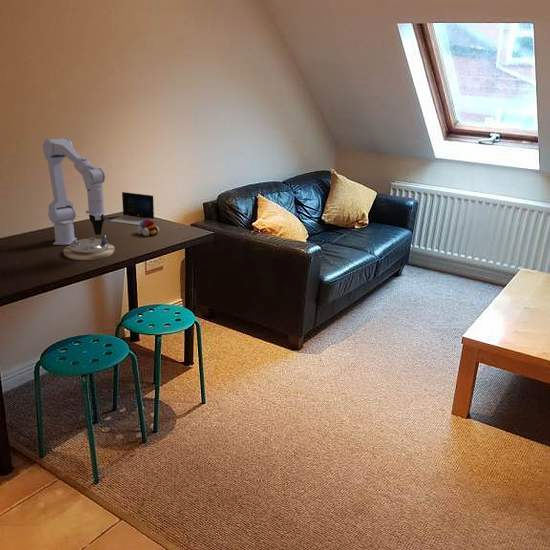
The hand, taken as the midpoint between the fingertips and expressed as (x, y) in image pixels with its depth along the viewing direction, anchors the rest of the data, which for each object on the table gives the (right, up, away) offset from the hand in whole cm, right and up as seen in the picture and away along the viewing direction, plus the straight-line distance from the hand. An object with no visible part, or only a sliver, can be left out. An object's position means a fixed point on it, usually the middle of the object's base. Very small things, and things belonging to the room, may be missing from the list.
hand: (97, 233), depth 219 cm
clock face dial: (-5, -6, +6) cm, 10 cm away
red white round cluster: (+12, +2, +35) cm, 38 cm away
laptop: (-1, +10, +57) cm, 57 cm away
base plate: (-6, -7, +7) cm, 11 cm away
